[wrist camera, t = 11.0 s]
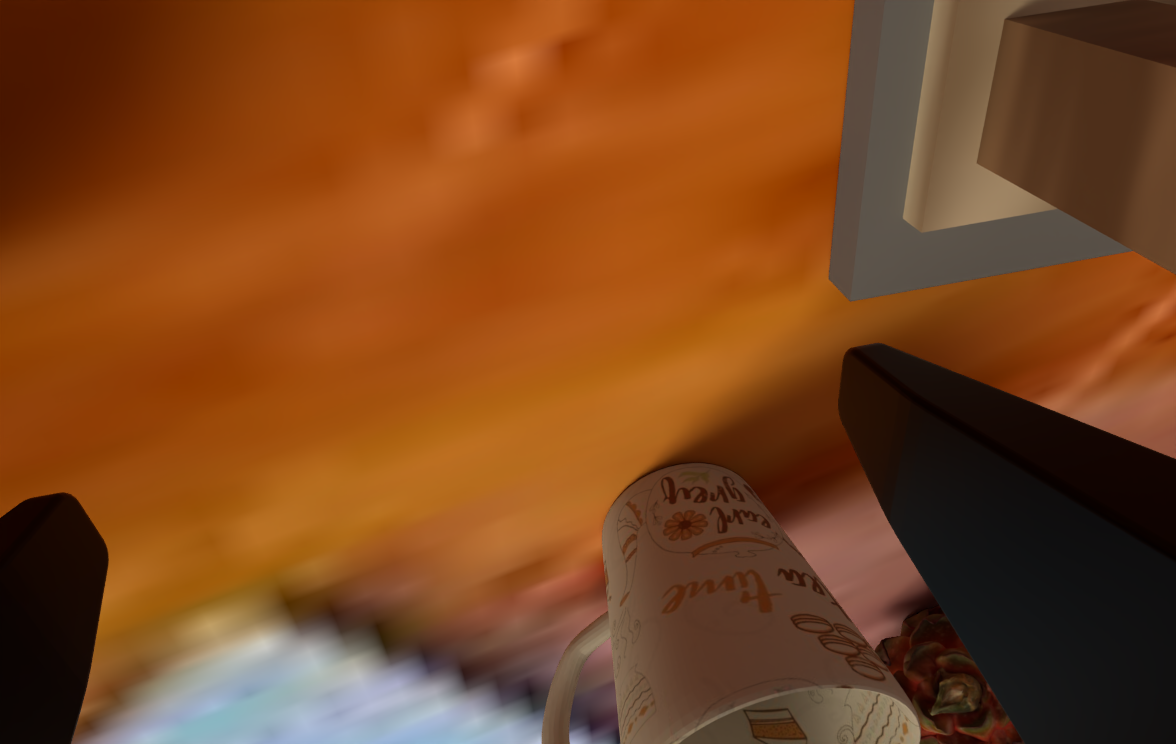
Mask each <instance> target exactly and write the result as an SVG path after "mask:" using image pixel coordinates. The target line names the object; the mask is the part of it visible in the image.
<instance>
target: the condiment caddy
mask: <svg viewBox="0 0 1176 744" xmlns="http://www.w3.org/2000/svg"><path fill="white" fill-rule="evenodd" d="M1054 209H1059V210H1061V211H1063V212H1065V213H1066V214H1068V215H1070V216H1072V217H1074V218H1075V219H1077V220H1079V221H1081V222H1083V223H1084V224H1086V225H1088V226H1090V227H1092V228H1093V229H1095V230H1097V231H1099V232H1101V233H1102V234H1104V235H1106V236H1108V237H1109V238H1111V239H1113V240H1115V241H1117V242H1118V243H1120V244H1122V245H1124V246H1126V247H1127V248H1129V249H1131V250H1133V251H1135V252H1136V253H1138V254H1140V255H1142V256H1144V257H1145V258H1147V259H1149V260H1151V261H1153V262H1154V263H1156V264H1158V265H1160V266H1161V267H1163V268H1165V269H1167V270H1169V271H1170V272H1172V273H1174V274H1176V0H934V6H933V13H932V20H931V27H930V34H929V41H928V48H927V55H926V62H925V69H924V75H923V82H922V89H921V96H920V103H919V110H918V117H917V124H916V131H915V137H914V144H913V151H912V158H911V165H910V172H909V179H908V186H907V193H906V200H905V206H904V213H903V219H904V220H905V221H907V222H908V223H909V224H911V225H912V226H913V227H915V228H916V229H917V230H919V231H920V232H921V233H923V232H929V231H934V230H940V229H946V228H951V227H957V226H963V225H968V224H974V223H980V222H986V221H991V220H997V219H1003V218H1008V217H1014V216H1020V215H1025V214H1031V213H1037V212H1043V211H1048V210H1054Z"/></svg>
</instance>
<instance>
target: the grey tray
mask: <svg viewBox="0 0 1176 744" xmlns="http://www.w3.org/2000/svg"><path fill="white" fill-rule="evenodd" d="M933 6H934V0H855V5H854V16H853V27H852V37H851V48H850V58H849V69H848V79H847V90H846V101H845V111H844V122H843V132H842V143H841V153H840V164H839V175H838V185H837V196H836V206H835V217H834V227H833V238H832V249H831V259H830V270H829V280H830V281H831V282H832V283H833V284H834V285H835V286H836V287H837V288H838V289H839V290H840V291H841V292H842V293H843V294H844V295H845V296H846V298H847V299H848V300H849V301H856V300H861V299H867V298H872V297H878V296H884V295H889V294H895V293H900V292H906V291H911V290H917V289H923V288H928V287H934V286H939V285H945V284H951V283H956V282H962V281H967V280H973V279H978V278H984V277H990V276H995V275H1001V274H1006V273H1012V272H1018V271H1023V270H1029V269H1034V268H1040V267H1046V266H1051V265H1057V264H1062V263H1068V262H1073V261H1079V260H1085V259H1090V258H1096V257H1101V256H1107V255H1113V254H1118V253H1124V252H1129V251H1133V250H1131V249H1129V248H1127V247H1126V246H1124V245H1122V244H1120V243H1118V242H1117V241H1115V240H1113V239H1111V238H1109V237H1108V236H1106V235H1104V234H1102V233H1101V232H1099V231H1097V230H1095V229H1093V228H1092V227H1090V226H1088V225H1086V224H1084V223H1083V222H1081V221H1079V220H1077V219H1075V218H1074V217H1072V216H1070V215H1068V214H1066V213H1065V212H1063V211H1061V210H1059V209H1054V210H1048V211H1043V212H1037V213H1031V214H1025V215H1020V216H1014V217H1008V218H1003V219H997V220H991V221H986V222H980V223H974V224H968V225H963V226H957V227H951V228H946V229H940V230H934V231H929V232H923V233H921V232H920V231H919V230H917V229H916V228H915V227H913V226H912V225H911V224H909V223H908V222H907V221H905V220H904V219H903V213H904V206H905V200H906V193H907V186H908V179H909V172H910V165H911V158H912V151H913V144H914V137H915V131H916V124H917V117H918V110H919V103H920V96H921V89H922V82H923V75H924V69H925V62H926V55H927V48H928V41H929V34H930V27H931V20H932V13H933Z"/></svg>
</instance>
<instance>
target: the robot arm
mask: <svg viewBox="0 0 1176 744" xmlns="http://www.w3.org/2000/svg"><path fill="white" fill-rule="evenodd" d="M838 410H839V415H840V419H841V421H842V424H843V426H844V428H845V430H846V432H847V435H848V437H849V439H850V441H851V443H852V445H853V448H854V450H855V452H856V454H857V456H858V458H859V460H860V463H861V465H862V467H863V469H864V471H865V473H866V475H867V478H868V480H869V482H870V484H871V486H872V488H873V491H874V493H875V495H876V497H877V499H878V501H879V503H880V506H881V508H882V510H883V512H884V514H885V516H886V518H887V520H888V522H889V523H890V525H891V527H892V529H893V530H894V532H895V534H896V535H897V537H898V539H899V541H900V542H901V544H902V545H903V547H904V549H905V550H906V552H907V554H908V555H909V557H910V558H911V560H912V562H913V563H914V565H915V567H916V568H917V570H918V571H919V573H920V575H921V576H922V578H923V580H924V581H925V583H926V584H927V586H928V588H929V589H930V591H931V593H932V594H933V596H934V597H935V599H936V601H937V602H938V604H939V606H940V607H941V609H942V610H943V612H944V614H945V615H946V617H947V619H948V620H949V622H950V623H951V625H952V627H953V628H954V630H955V632H956V633H957V635H958V636H959V638H960V640H961V641H962V643H963V645H964V646H965V648H966V649H967V651H968V653H969V654H970V656H971V658H972V659H973V661H974V662H975V664H976V666H977V667H978V669H979V671H980V672H981V674H982V675H983V677H984V679H985V680H986V682H987V684H988V685H989V687H990V688H991V690H992V692H993V693H994V695H995V697H996V698H997V700H998V701H999V703H1000V705H1001V706H1002V708H1003V709H1004V711H1005V713H1006V714H1007V716H1008V718H1009V719H1010V721H1011V722H1012V724H1013V726H1014V727H1015V729H1016V731H1017V732H1018V734H1019V735H1020V737H1021V739H1022V740H1023V742H1024V744H1176V459H1174V458H1172V457H1169V456H1167V455H1164V454H1162V453H1159V452H1157V451H1154V450H1152V449H1149V448H1146V447H1144V446H1141V445H1139V444H1136V443H1134V442H1131V441H1129V440H1126V439H1124V438H1121V437H1118V436H1116V435H1113V434H1111V433H1108V432H1106V431H1103V430H1101V429H1098V428H1096V427H1093V426H1091V425H1088V424H1085V423H1083V422H1080V421H1078V420H1075V419H1073V418H1070V417H1068V416H1065V415H1063V414H1060V413H1058V412H1055V411H1052V410H1050V409H1047V408H1045V407H1042V406H1040V405H1037V404H1035V403H1032V402H1030V401H1027V400H1025V399H1022V398H1019V397H1017V396H1014V395H1012V394H1009V393H1007V392H1004V391H1002V390H999V389H997V388H994V387H992V386H989V385H986V384H984V383H981V382H979V381H976V380H974V379H971V378H969V377H966V376H964V375H961V374H958V373H956V372H953V371H951V370H948V369H946V368H943V367H941V366H938V365H936V364H933V363H931V362H928V361H925V360H923V359H920V358H918V357H915V356H913V355H910V354H908V353H905V352H903V351H900V350H898V349H895V348H892V347H890V346H887V345H885V344H882V343H874V344H869V345H864V346H858V347H853V348H850V349H849V350H848V351H847V352H846V353H845V355H844V358H843V364H842V373H841V382H840V390H839V399H838ZM108 561H109V559H108V550H107V547H106V544H105V542H104V540H103V538H102V537H101V535H100V534H99V532H98V530H97V529H96V527H95V526H94V524H93V523H92V521H91V520H90V518H89V517H88V515H87V514H86V512H85V510H84V509H83V507H82V506H81V504H80V503H79V501H78V500H77V499H76V498H75V497H74V496H72V495H71V494H68V493H64V492H63V493H56V494H50V495H45V496H39V497H34V498H30V499H27V500H25V501H23V502H21V503H20V504H19V505H17V506H16V507H15V508H13V509H12V510H10V511H9V512H8V513H6V514H5V515H4V516H2V517H1V518H0V744H71V742H72V738H73V735H74V732H75V728H76V725H77V721H78V718H79V714H80V711H81V707H82V703H83V700H84V696H85V692H86V688H87V683H88V679H89V674H90V669H91V664H92V658H93V652H94V646H95V640H96V634H97V628H98V622H99V617H100V611H101V605H102V599H103V593H104V587H105V581H106V575H107V569H108Z"/></svg>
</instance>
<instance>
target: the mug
mask: <svg viewBox="0 0 1176 744" xmlns="http://www.w3.org/2000/svg"><path fill="white" fill-rule="evenodd" d="M602 547H603V560H604V570H605V581H606V592H607V602H608V611H607V612H605V613H604V614H603V615H601V616H600V617H599V618H597V619H596V620H595V621H594V622H592V623H591V624H590V625H589V626H587V627H586V628H585V629H584V630H582V631H581V632H580V633H579V634H578V635H577V636H576V637H575V638H574V639H573V640H572V641H571V643H570V644H569V646H568V647H567V649H566V650H565V652H564V654H563V656H562V658H561V660H560V662H559V665H558V667H557V670H556V673H555V675H554V678H553V681H552V684H551V687H550V691H549V695H548V699H547V703H546V708H545V713H544V719H543V727H542V744H570V742H569V721H570V714H571V707H572V703H573V698H574V693H575V689H576V685H577V682H578V678H579V675H580V672H581V670H582V667H583V665H584V663H585V662H586V660H587V658H588V657H589V656H590V654H591V653H592V652H593V651H594V650H595V649H596V648H597V647H599V646H600V645H601V644H602V643H604V642H605V641H606V640H607V639H609V638H610V637H611V645H612V656H613V666H614V677H615V687H616V698H617V709H618V719H619V730H620V741H621V744H920V738H921V726H920V721H919V718H918V716H917V713H916V710H915V709H914V707H913V705H912V703H911V701H910V700H909V698H908V697H907V695H906V694H905V692H904V691H903V689H902V688H901V686H900V685H899V683H898V682H897V681H896V679H895V678H894V677H893V675H892V674H891V672H890V671H889V670H888V668H887V667H886V666H885V664H884V663H883V662H882V661H881V659H880V658H879V657H878V655H877V654H876V653H875V651H874V650H873V649H872V647H871V646H870V645H869V643H868V642H867V641H866V639H865V638H864V637H863V635H862V634H861V633H860V631H859V630H858V629H857V627H856V626H855V625H854V623H853V622H852V621H851V619H850V618H849V617H848V615H847V614H846V613H845V611H844V610H843V609H842V607H841V606H840V605H839V603H838V602H837V601H836V599H835V598H834V597H833V595H832V594H831V593H830V591H829V590H828V589H827V588H826V586H825V585H824V584H823V582H822V581H821V580H820V578H819V577H818V576H817V574H816V573H815V572H814V570H813V569H812V568H811V566H810V565H809V564H808V562H807V561H806V560H805V558H804V557H803V556H802V554H801V553H800V552H799V550H798V549H797V548H796V546H795V545H794V544H793V542H792V541H791V540H790V538H789V537H788V536H787V534H786V533H785V532H784V530H783V529H782V528H781V526H780V525H779V524H778V522H777V521H776V520H775V518H774V517H773V516H772V514H771V513H770V512H769V511H768V509H767V508H766V507H765V505H764V504H763V503H762V501H761V500H760V499H759V497H758V496H757V495H756V493H755V492H754V491H753V490H752V488H751V487H750V486H749V485H748V484H747V483H746V481H744V480H743V479H742V478H741V477H740V476H739V475H737V474H736V473H734V472H732V471H730V470H728V469H726V468H723V467H720V466H716V465H712V464H705V463H688V464H680V465H675V466H671V467H667V468H664V469H661V470H658V471H656V472H653V473H651V474H649V475H647V476H645V477H643V478H642V479H640V480H638V481H637V482H635V483H634V484H633V485H631V486H630V487H629V488H628V489H626V490H625V491H624V492H623V493H622V494H621V495H620V496H619V497H618V498H617V500H616V501H615V502H614V504H613V505H612V507H611V508H610V510H609V512H608V514H607V516H606V519H605V522H604V525H603V531H602Z"/></svg>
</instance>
